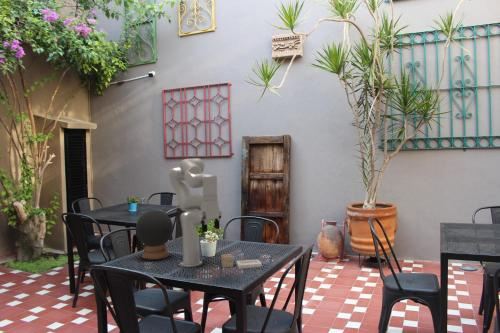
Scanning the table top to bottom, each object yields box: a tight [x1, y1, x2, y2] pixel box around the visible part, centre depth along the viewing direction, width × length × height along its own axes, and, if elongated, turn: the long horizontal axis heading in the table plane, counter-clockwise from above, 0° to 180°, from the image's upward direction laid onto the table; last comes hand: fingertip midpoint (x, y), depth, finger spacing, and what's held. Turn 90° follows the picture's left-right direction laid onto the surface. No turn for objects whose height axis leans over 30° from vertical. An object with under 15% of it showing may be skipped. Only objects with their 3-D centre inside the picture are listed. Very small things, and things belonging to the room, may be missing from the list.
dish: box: [235, 259, 263, 270], centre depth 255 cm, size 10×13×2 cm
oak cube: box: [220, 253, 234, 268], centre depth 257 cm, size 6×6×6 cm
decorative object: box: [135, 209, 174, 261], centre depth 282 cm, size 23×23×30 cm
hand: (210, 230), depth 235 cm, fingers open, 9 cm apart
